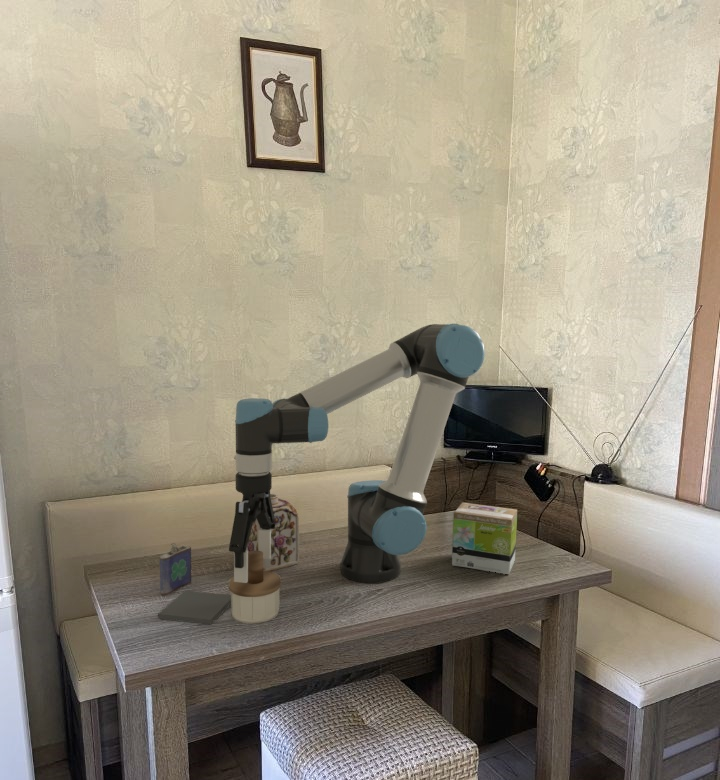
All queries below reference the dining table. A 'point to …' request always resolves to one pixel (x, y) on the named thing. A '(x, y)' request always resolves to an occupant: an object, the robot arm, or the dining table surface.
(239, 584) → the lid
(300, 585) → the dining table surface
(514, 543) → the tea box
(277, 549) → the decorative jar
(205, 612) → the mat
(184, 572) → the flask
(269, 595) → the bowl
